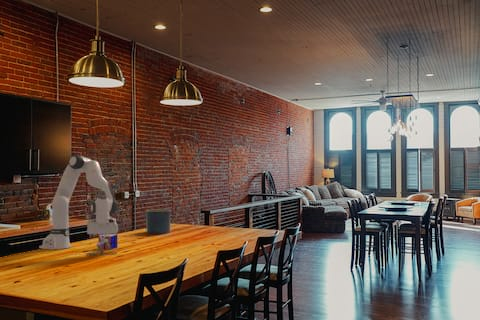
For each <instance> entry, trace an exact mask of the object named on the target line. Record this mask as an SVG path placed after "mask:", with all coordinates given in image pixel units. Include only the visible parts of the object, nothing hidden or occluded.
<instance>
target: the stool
mask: <svg viewBox="0 0 480 320" xmlns="http://www.w3.org/2000/svg"><path fill="white" fill-rule="evenodd" d="M104 243H106V245H107V247H108V249H109V250H108V251H111V246H110V244H109V242H108V240H107V239H105V240H103V241H101V242H99V241H98V243H96V247H97V249H98V252H100V253H101V254H100V255H101V256H103V254H104V253H103V252H104V249H102V248H101V246H100V245H102V244H104Z"/></svg>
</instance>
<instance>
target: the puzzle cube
mask: <svg viewBox="0 0 480 320" xmlns="http://www.w3.org/2000/svg"><path fill="white" fill-rule="evenodd" d="M101 237H102V238H104V237H105V235H104V234H101ZM105 239H107V240H108V242H109V244H110V246H111V250H114V249H117V248H118V233H112V234H107V235H106V237H105ZM102 241H103V240H102ZM99 242H101V240H100V237H99V236H98V243H99ZM100 246H101V248H102V250H103V251H105V250H106V251H107V250H108V251H111V250H109V249H108V247H107V245H106V243H104V244H102V245H100Z"/></svg>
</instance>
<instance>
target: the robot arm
mask: <svg viewBox="0 0 480 320" xmlns="http://www.w3.org/2000/svg"><path fill="white" fill-rule="evenodd" d="M102 172H103V171H102V170H101V166H100V163H99V162H98V160H95V159H94V160H93V159H90V158H88V157H85V156H82V155H78V154H77V155H76V154H74V155H72V156H70V158H69V161H68V164H67V166H66V168H65V169H64V171H63V173H62V176H61V179H60V182H59V184H58V187H57V190H56V192H55V195H54V197H53V199H52V202H51V203H52V204H51V205H52V208H51V210H52V211H51V212H52V214H51V215H52V228H51V229H50V234H48V235H47V236H45V238H43V240H42V245H39V247H38V248H39V249H44V250H45V249H46V250H63V249H68V248H72V245H71V243H70V228H69V224H70V223H69V216H70V215H69V203H70V200H71V198H72V196H73V192H74V190H75V188H76V185H77V183H78V180H79V177H80V175H81V174H84V175H85V178H86V179H85V180H86V181H87V184H88V185H90V186H91V187H93V188H96V189H99V190H101V191H103V192H104V193H105V195H100V196H97V197H96V200H94V201H92V202H91V203H90V212H91V213H92V214H93V215H95V220H94V219H93V220H88V221H87V222H86V227H87V229H86V234H87V235H98V238H99V237H100V240H101V241H102V240H105V237H106V235H107V234H118V232H119V226H118V224H117V219H116V218H114V217H110V215H114V214H115V213H117V211H118V210H119V206H118V205H119V204H118V202H117V200H116V198H115V196H114V193H113V190H112V188H111V184H110V183H109V181H108V180H107V179H105V178H104V176H103V174H102ZM101 235H105V237H104V238H102V237H101Z"/></svg>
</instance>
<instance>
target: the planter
mask: <svg viewBox="0 0 480 320" xmlns="http://www.w3.org/2000/svg"><path fill="white" fill-rule="evenodd" d="M171 212H172V210H171V209H167V208H166V209H165V208H164V209H163V208H157V209H156V208H155V209H147V210H145V223H146V224H145V225H146V226H145V227H146V230H145V231H146V234H148V235H164V234H170V233H171V222H172V221H171V215H172V213H171Z"/></svg>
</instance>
